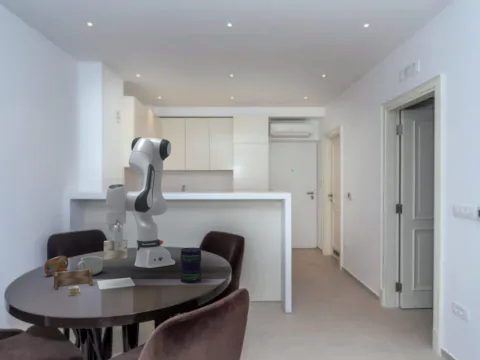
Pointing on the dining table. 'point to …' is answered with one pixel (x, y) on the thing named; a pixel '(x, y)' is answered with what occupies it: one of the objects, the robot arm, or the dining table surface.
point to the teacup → (91, 264)
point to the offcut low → (73, 294)
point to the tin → (56, 265)
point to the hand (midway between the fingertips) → (115, 249)
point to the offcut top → (73, 288)
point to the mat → (115, 283)
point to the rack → (72, 277)
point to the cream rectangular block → (111, 253)
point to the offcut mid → (74, 292)
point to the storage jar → (190, 265)
